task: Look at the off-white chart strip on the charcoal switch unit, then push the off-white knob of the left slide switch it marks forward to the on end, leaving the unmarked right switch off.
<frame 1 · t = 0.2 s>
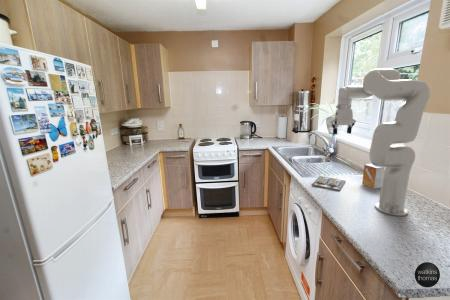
hand: (341, 133, 140), 31 cm above the worktop, tool pointing down, fingers open, 9 cm apart
switch unit: (328, 183, 137), on the worktop
right switch: (333, 181, 131), point 4 cm above the worktop, slide at 0.0 cm
small box: (371, 186, 132), on the worktop
left switch: (321, 179, 136), point 4 cm above the worktop, slide at 0.0 cm
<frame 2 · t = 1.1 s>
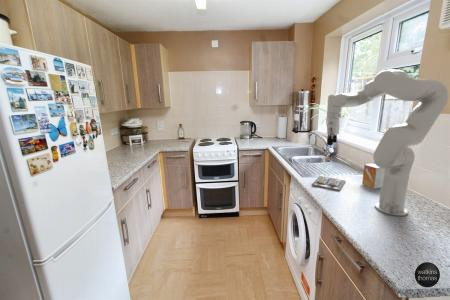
hand: (331, 143, 132), 26 cm above the worktop, tool pointing down, fingers open, 9 cm apart
nothing on the worktop moved.
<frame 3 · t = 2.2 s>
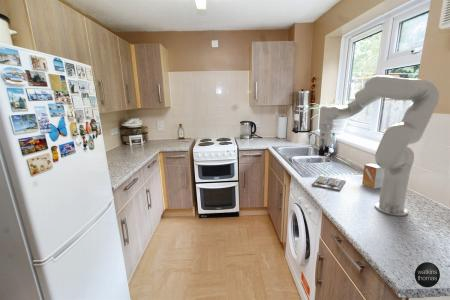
hand: (323, 154, 134), 20 cm above the worktop, tool pointing down, fingers open, 9 cm apart
nothing on the worktop moved.
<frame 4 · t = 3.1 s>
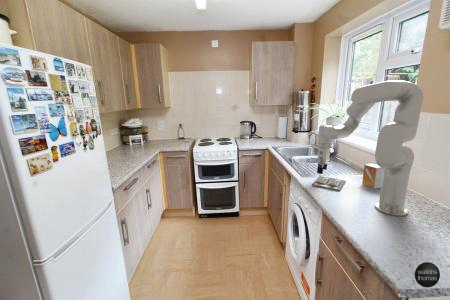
hand: (321, 171, 136), 8 cm above the worktop, tool pointing down, fingers open, 9 cm apart
nothing on the worktop moved.
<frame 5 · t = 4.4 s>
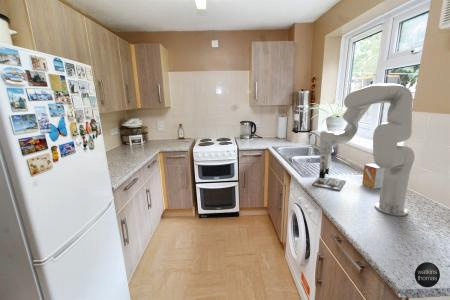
hand: (323, 175, 140), 4 cm above the worktop, tool pointing down, fingers open, 9 cm apart
left switch: (322, 178, 137), point 4 cm above the worktop, slide at 2.0 cm, touching gripper
everything else where it was.
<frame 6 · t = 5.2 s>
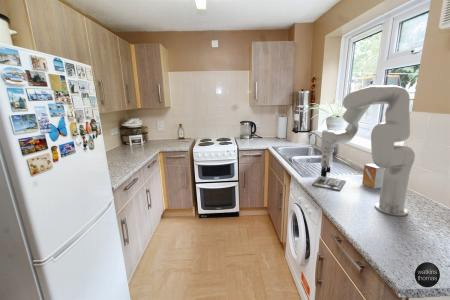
hand: (325, 174, 143), 4 cm above the worktop, tool pointing down, fingers open, 9 cm apart
left switch: (324, 176, 140), point 4 cm above the worktop, slide at 5.9 cm, touching gripper
everything else where it was.
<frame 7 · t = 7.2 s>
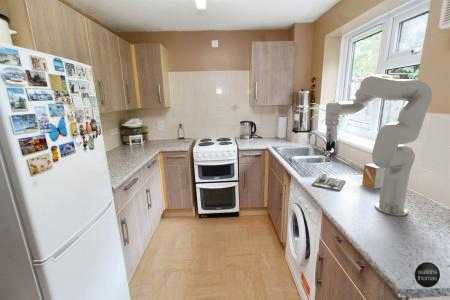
hand: (330, 149, 138), 21 cm above the worktop, tool pointing down, fingers open, 9 cm apart
left switch: (324, 176, 140), point 4 cm above the worktop, slide at 5.9 cm
everything else where it was.
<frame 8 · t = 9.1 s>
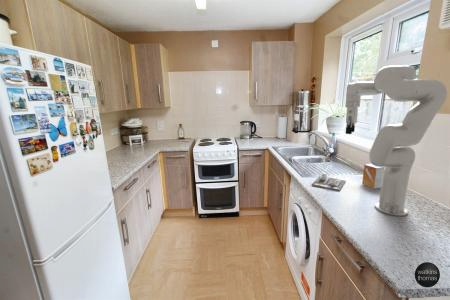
hand: (349, 132, 132), 32 cm above the worktop, tool pointing down, fingers open, 9 cm apart
nothing on the worktop moved.
at the end: left switch slide at 5.9 cm; right switch slide at 0.0 cm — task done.
